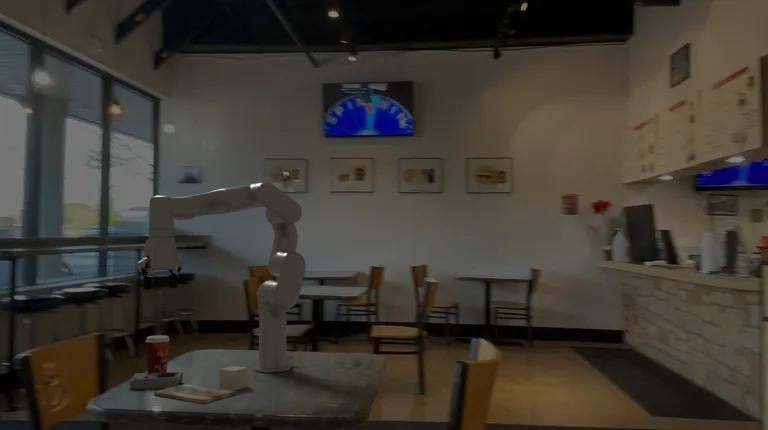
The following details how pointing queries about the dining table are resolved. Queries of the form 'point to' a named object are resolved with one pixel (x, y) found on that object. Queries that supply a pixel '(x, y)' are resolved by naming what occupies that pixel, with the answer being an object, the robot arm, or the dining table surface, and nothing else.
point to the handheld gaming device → (156, 380)
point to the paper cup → (157, 353)
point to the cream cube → (233, 378)
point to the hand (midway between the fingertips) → (160, 288)
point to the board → (195, 393)
